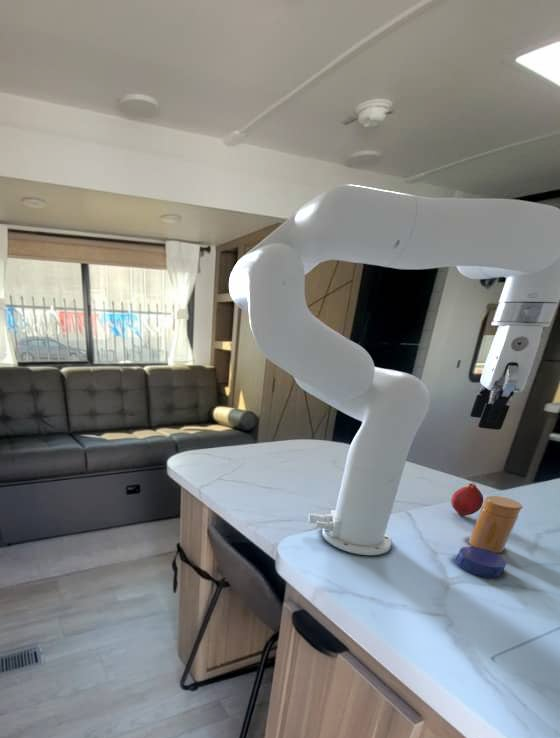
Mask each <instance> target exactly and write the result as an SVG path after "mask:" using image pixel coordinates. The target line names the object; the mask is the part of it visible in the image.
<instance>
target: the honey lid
mask: <svg viewBox="0 0 560 738" xmlns="http://www.w3.org/2000/svg"><path fill="white" fill-rule="evenodd" d="M455 562H456V564H457V566H458V567H460V568H461V569H462V570H464V571H466V572H467V573H470V574H472V575H475V576H478V577H482V578H487V579H496V578H500V577H502V575H503V573H504V570H505V569H506V566H507V560H506V559H505V558H504V557H502V556H501V555H500V554H499V553H494V552H492V551H489V550H486V549H482V548H478V547H474V546H463V547H461V548H460V549H459V550H458V553H457V556H456V558H455Z"/></svg>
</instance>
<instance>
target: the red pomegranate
mask: <svg viewBox="0 0 560 738" xmlns="http://www.w3.org/2000/svg"><path fill="white" fill-rule="evenodd" d="M450 504H451V507H452V509H453V510H455V512H456V513H457V515H458V516H460V517H466V516H470V515H473V514H475V513H477V512H478V511H481V509H482V507H483V505H484V495H483V493H482V491H480V489H479V488H478V487H477V485H476V484H475V483H474V482H469V483H468V485H466V486H463V487H461V488H459V489H457V490H456V491H455V492H454V493H453V494H452V496H451V499H450Z"/></svg>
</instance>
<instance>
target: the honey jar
mask: <svg viewBox="0 0 560 738" xmlns="http://www.w3.org/2000/svg"><path fill="white" fill-rule="evenodd" d="M523 507H524V506H523V505H522V503H521V502H518V500H515V499H512V498H508V497H505V496H499V495H488V496H487V497H485V499H484V500H483V504H482V507H481V508H480V510H479V514H478V516H477V519H476V522H475V524H474V527H473V529H472V531H471V534H470V537H469V538H468V543H469V544H470V546H471V547H478V548H482V549H486V550H489V551H492V552H494V553H496V554H500V553H502V552H503V551H504V550H505V548H506V545H507V543H508V540H509V538H510V536H511V534H512V532H513V529H514V527H515V525H516V522H517V520H518V518H519V514H520V512H521V510H522V509H523Z"/></svg>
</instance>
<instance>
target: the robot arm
mask: <svg viewBox="0 0 560 738" xmlns="http://www.w3.org/2000/svg"><path fill="white" fill-rule="evenodd" d="M327 261H340V262H347V263H354V264H355V263H356V264H365V265H371V266H379V267H383V268H391V269H396V270H431V269H439V268H448V267H449V268H450V267H456V269H457V270H458V272H459V273H460V274H461V275H462V276H464V277H466V278H468V279H472V280H489V279H499V278H505V282H504V285H503V288H502V292H501V294H500V297H499V299H498V303H497V306H496V309H495V311H494V315H493V317H492V321H491V324H490V325H491V326H498V327H497V330H496V332H495V335H494V337H493V340H492V343H491V346H490V348H489V351H488V354H487V357H486V358H485V359H486V360H485V362H484V366H483V369H482V371H481V376H480V380H479V383H480V384H481V385H480V387H479V389H478V391H477V394H476V396H475V399H474V402H473V405H472V408H471V411H470V414H469V415H470V417H471V418H477V419H479V421H478V424H477V426H478V428H480V429H487V430H495V431H496V430H497V431H498V430H499V431H500V430H501V429H502V428H503V426H504V423H505V420H506V417H507V415H508V412H509V409H510V406H511V404H512V400H513V396H514V394H515V393H521V392H522V391H524V390H525V388H526V387H525V386H526V384H527V381H528V378H529V376H530V373H531V370H532V367H533V364H534V362H535V358H536V355H537V351H538V349H539V345H540V343H541V342H540V341H541V339H542V335H543V331H544V330H543V329H544V328H549V327H550V326H551V323H552V321H553V318H554V315H555V313H556V310H557V307H558V305H559V302H560V208H559V207H557V206H554V205H550V204H544V203H540V202H539V203H538V202H534V201H529V200H521V199H513V198H467V197H465V198H464V197H427V196H421V195H415V194H409V193H402V192H397V191H391V190H385V189H380V188H375V187H370V186H368V187H367V186H363V185H362V186H361V185H356V184H341V185H336V186H333V187H331V188H329V189H327V190H325V191H323V192H322V193H320V194H319V195H317V196H316V197H314V198H311V200H309V201H307V202H306V203H305V204H303V205H302V206H301V207H300V208H298V210H296V211H295V212H294V213H293V214H292V215H291V216H290V217H288V218H287V219H286V220H285V221H284V222H283V223H282V224H280V225H279V226H278V227H277V228H275V230H273V231H272V232H271V233H269V235H267V236H266V237H265V238H264V239H261V241H260V242H259V243H257V244H256V245H255V246H254V247H252V248H251V249H250V250H249V251H248V252H247V253H245V254H244V255H243V256H242V257H240V258H239V259H238V260H237V262H236V264H235V265H234V266H233V268H232V271H231V272H230V276H229V281H228V290H229V295H230V297H231V300H232V301H233V303H234V304H235V305H236V306H237V307H238V308H239V309H241V310H243V311H244V312H248V319H249V327H250V329H251V334H252V336H253V339H254V341H255V344H256V346H257V348H258V349H259V351H260V353H261V354H262V355H263V356H264V357H265V358H266V359H267V360H268V361H270V362H271V363H272V364H273V365H276V366H277V367H278V368H280V369H281V370H283V371H284V372H286V373H288V375H291V376H292V377H293V378H294V381H295V383H296V384H297V385H298V387H300V388H301V389H302V390H303V391H304V392H306V393H308V394H310V395H311V396H313V397H315V398H316V399H319V400H320V401H321V402H324V403H326V404H327V405H329V406H330V407H332V408H334V409H336V410H338V412H339V411H340V412H341V413H343V414H344V415H347V416H349V417H351V418H353V419H355V420H357V421H359V422H361V425H360V427H359V429H358V430H357V432H356V433H355V435H354V437H353V439H352V441H351V443H350V446H349V449H348V452H347V456H346V460H345V465H344V471H343V475H342V480H341V483H340V488H339V493H338V498H337V502H336V506H335V509H331V510H330V513H326V514H325V515H322V514H317V513H309V514H308V518H307V519H308V520H307V522H308V524H314V525H315V529H321V530H322V533H321V534H322V536H323V538H324V539H325V541H327V542H328V543H329V544H330V545H331V546H333V547H335V548H337V549H339V550H342V551H345V552H348V553H351V554H356V555H362V556H378V555H382V554H383V555H384V554H385V553H387V552H389V551H390V549H391V547H392V542H393V541H392V538H391V537H390V536H389V534H387V532H386V531H387V527H388V524H389V520H390V517H391V513H392V510H393V506H394V503H395V500H396V496H397V493H398V490H399V486H400V483H401V480H402V475H403V473H404V469H405V465H406V463H407V460H408V459H407V458H408V455H409V452H410V450H411V447H412V444H413V441H414V439H415V437H416V435H417V433H418V431H419V430H420V427H421V426H422V424H423V421H424V419H425V418H426V415H427V413H428V411H429V407H430V403H431V402H430V400H431V398H430V392H429V389H428V387H427V386H426V384H425V383H424V382H423V380H421V379H420V378H419V377H417V376H415V375H413V374H411V373H408V372H404V371H399V370H395V369H390V368H382V367H378V366H375V363H374V360H373V358H372V356H371V355H370V354H369V352H368V351H367V350H366V349H365V348H364V347H363V346H362V345H360V344H358V343H356V342H354V341H353V340H351V339H349V338H347V337H346V336H344V335H343V334H342V333H340V332H338V331H336V330H335V329H333V328H331V327H329V326H328V325H326V324H325V323H324V322H323V321H321V320H320V319H319V318H318V317H316V316H315V315H314V314H313V313H312V311H311V310H310V309H309V307H308V303H307V300H306V290H305V289H306V275H307V274H309V273H310V272H311V271H312V270H313V269H314V268H315V267H316V266H318V265H319V264H321V263H323V262H327Z"/></svg>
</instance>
